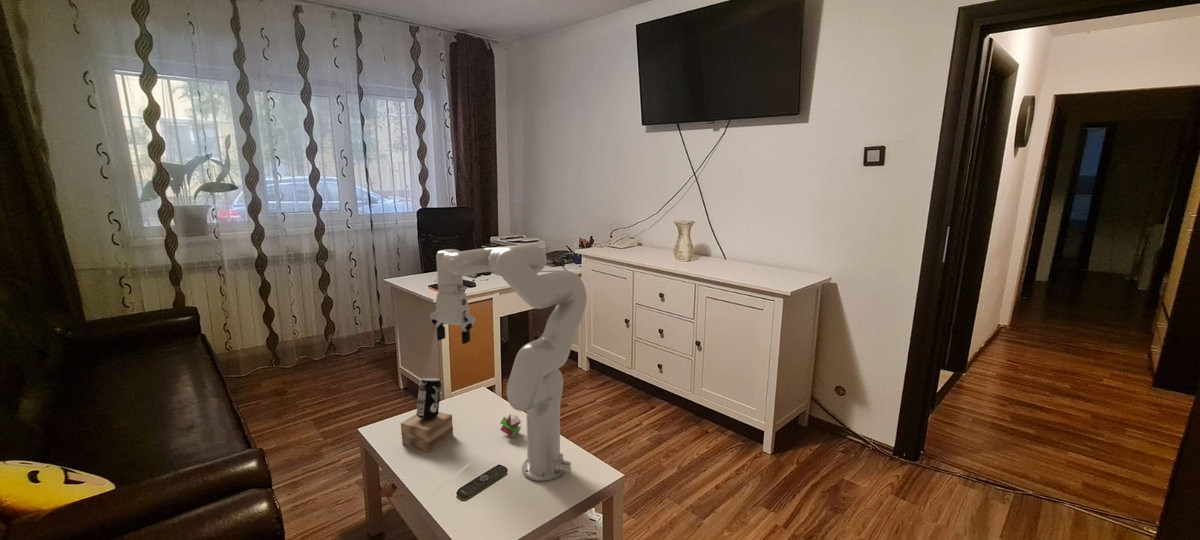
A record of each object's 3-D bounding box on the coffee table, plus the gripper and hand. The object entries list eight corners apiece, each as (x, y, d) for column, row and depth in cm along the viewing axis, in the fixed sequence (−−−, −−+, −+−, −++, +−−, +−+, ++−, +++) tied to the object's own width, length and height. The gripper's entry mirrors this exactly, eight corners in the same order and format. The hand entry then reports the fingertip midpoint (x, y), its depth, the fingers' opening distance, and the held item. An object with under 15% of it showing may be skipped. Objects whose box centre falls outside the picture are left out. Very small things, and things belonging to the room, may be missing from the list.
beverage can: (440, 415, 165) (443, 378, 166) (434, 419, 159) (438, 381, 160) (419, 413, 165) (423, 376, 166) (413, 418, 159) (417, 379, 159)
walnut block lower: (453, 437, 167) (452, 426, 166) (429, 454, 157) (428, 442, 156) (427, 430, 171) (426, 419, 170) (402, 446, 161) (401, 434, 160)
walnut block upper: (452, 426, 166) (452, 415, 165) (429, 442, 156) (428, 430, 155) (425, 420, 170) (425, 408, 169) (401, 435, 160) (400, 423, 159)
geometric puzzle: (496, 441, 164) (496, 418, 162) (503, 430, 170) (502, 408, 169) (518, 442, 163) (518, 419, 162) (524, 432, 170) (523, 410, 168)
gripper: (480, 288, 160) (483, 340, 163) (436, 284, 167) (439, 334, 170) (465, 293, 153) (468, 347, 156) (420, 289, 160) (424, 341, 163)
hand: (453, 340), depth 163 cm, fingers open, 9 cm apart
